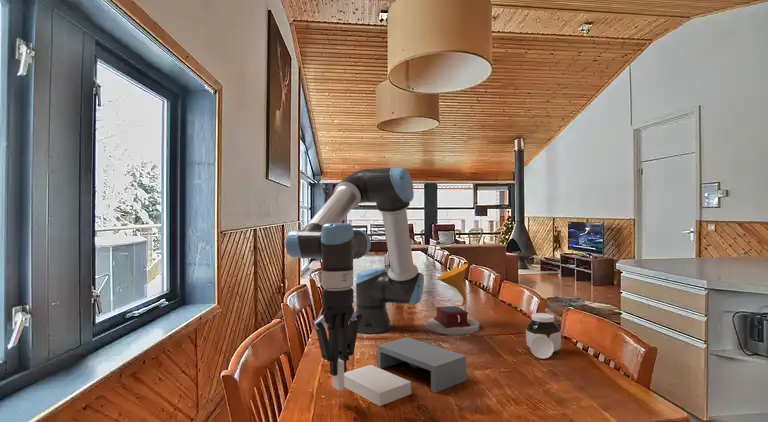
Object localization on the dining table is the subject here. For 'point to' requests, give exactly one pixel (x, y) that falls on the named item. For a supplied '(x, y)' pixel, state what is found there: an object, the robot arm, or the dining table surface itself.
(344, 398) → the dining table surface
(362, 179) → the robot arm
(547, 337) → the spread jar
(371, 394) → the pale grey flat slab
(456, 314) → the gramophone
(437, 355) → the low overhang
